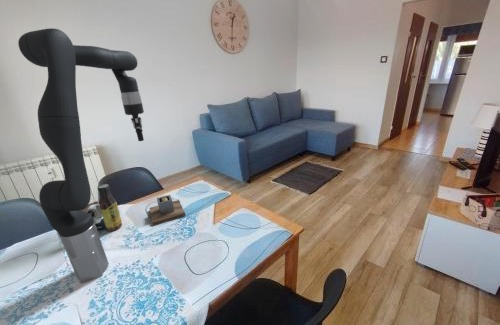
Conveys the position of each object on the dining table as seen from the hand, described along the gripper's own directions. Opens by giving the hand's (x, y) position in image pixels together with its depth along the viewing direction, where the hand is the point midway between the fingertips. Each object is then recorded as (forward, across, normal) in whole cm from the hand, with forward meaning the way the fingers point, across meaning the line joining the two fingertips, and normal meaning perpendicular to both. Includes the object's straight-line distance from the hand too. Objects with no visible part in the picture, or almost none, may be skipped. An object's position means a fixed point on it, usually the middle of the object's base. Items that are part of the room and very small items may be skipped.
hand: (140, 138), depth 107 cm
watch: (+34, -9, +24) cm, 43 cm away
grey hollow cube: (+33, -13, -4) cm, 35 cm away
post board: (+34, -13, -4) cm, 37 cm away
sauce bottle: (+34, -12, +18) cm, 41 cm away
